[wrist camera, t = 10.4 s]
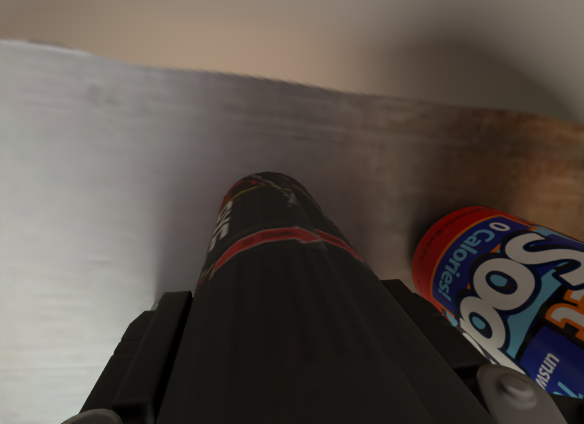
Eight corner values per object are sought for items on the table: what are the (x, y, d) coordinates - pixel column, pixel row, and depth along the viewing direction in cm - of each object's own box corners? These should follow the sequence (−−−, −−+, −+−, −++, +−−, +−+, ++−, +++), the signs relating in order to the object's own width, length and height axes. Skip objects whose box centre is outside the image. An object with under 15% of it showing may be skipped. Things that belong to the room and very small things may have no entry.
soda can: (483, 299, 22) (893, 615, 8) (393, 298, 21) (698, 677, 7) (519, 205, 20) (1185, 419, 6) (420, 197, 18) (976, 453, 4)
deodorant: (231, 159, 16) (106, 487, 2) (327, 185, 17) (684, 487, 3) (210, 252, 17) (53, 811, 3) (299, 269, 19) (454, 718, 5)
